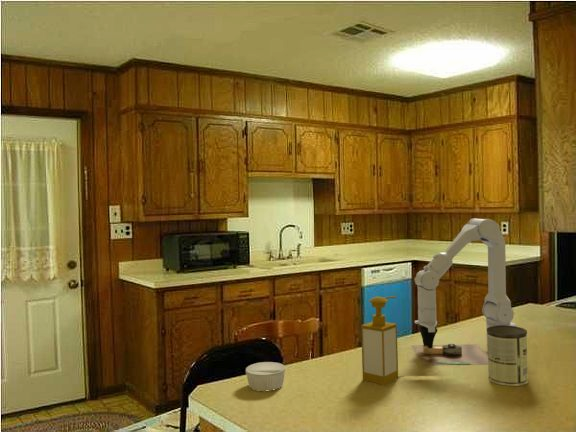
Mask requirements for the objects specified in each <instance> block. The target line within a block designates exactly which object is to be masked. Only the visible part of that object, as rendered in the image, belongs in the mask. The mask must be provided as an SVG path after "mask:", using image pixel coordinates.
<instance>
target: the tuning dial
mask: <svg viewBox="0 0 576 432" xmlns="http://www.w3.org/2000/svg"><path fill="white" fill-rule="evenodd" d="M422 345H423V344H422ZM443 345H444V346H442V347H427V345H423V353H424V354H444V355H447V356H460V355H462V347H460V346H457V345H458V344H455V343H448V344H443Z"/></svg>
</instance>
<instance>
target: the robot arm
mask: <svg viewBox="0 0 576 432" xmlns="http://www.w3.org/2000/svg"><path fill="white" fill-rule="evenodd" d="M500 229H501V228H500V224H498V222H496V221H495V220H493V219H490V218H476V217H474V218H470V220H469V221H468V222H467V223H465V224H464V225H463V227H462V229H461V231H460V232H459V233H458V234H457V235H456V236H455V238H453V240H452V242H451V243H450V244H449V246H448V247H447V248H446V249H445V250H444V251H443V252H438V253H437V254H436V253H435V254H434V255H433V256H432V259H431V260H430V261H429V262H428V264H427V265H424V266H423V269H422V270H419V271H418V272H416V275H415V277H414V283H415V285H416V286H417V318H418V319H417V320H414V324H416V325H420V326H417V329H418V330H419V333H420V336H421V338H422V343H423V344H422V345H427V347H432V346H433V345H434V340H435V337H436V335H437V333H438V328H437V324H438V320H437V293H436V291H437V290H436V288H437V287H438V286H439V283H440V279H441V278H442V277H443V275H445V273H446V272H447V271H448V270H449V269H450V268H451V267H452V266H453V259H454V258H455V257H456V256H457V255H458V254H459V253H460V252H461V251H462V250H463V249H464V248H465V247H466V246H467V245H468V244H469V243H471V242H475V241H477V242H478V241H480V242H482V243H483V244H484V245H486V246H487V275H488V276H487V282H488V283H487V285H488V286H487V287H488V288H487V289H488V290H487V291H488V293H487V294H486V296H484V303H483V305H482V308H481V311H482V314H483V316H484V317H485V322H486V323H485V324H486V326H485V327H486V329H487V328H489V327H492V326H515V327H518V326H517V324H516V323H515V322H512V321H513V319H514V314H515V312H514V310H513V308H512V301H511V300H510V298H509V297H508V295H507V286H506V285H507V281H506V279H507V277H506V275H507V273H506V267H507V266H506V240H505V239H506V238H505V237H504V235H503V234H502V231H501V230H500ZM486 347H487V348H488V340H487V339H486Z"/></svg>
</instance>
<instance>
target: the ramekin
mask: <svg viewBox="0 0 576 432" xmlns="http://www.w3.org/2000/svg"><path fill="white" fill-rule="evenodd" d="M285 372H286V366H285V365H284V364H282V363H280V362H273V361H263V362H262V361H261V362H256V363H253V364H252V363H251V364H250V365H248V366H247V367H245V374H246V378H247V384H248V387H249V388H250V389H251V388H252V389H251V390H253V389H254V390H253V391H255V390H260V391H266V390H273V389H277V388H279V389H280V387H281V388H282V387H283V385H284V383H285V382H284V380H285V374H286V373H285ZM277 390H278V389H277ZM260 391H259V392H260Z"/></svg>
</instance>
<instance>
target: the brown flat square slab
mask: <svg viewBox="0 0 576 432" xmlns="http://www.w3.org/2000/svg"><path fill="white" fill-rule="evenodd" d="M444 345H445V344H433V346H432V347H442V346H444ZM456 345H457V346H460V347H462V355H460V356H447V355H444V354H424V353H423V344H422V345H421V344H417V345H415V344H413V345H411V347H412V348H413V350H414V353H415V354H416V355H417V357H418V358H419V360H420V362H421V364H422V365H423V366H468V365H469V366H471V365H472V366H473V365H474V366H475V365H476V366H479V365H481V366H482V365H485V366H486V365H487V366H488V352H486V351H485V350H484V349H483V348H482V347H481V346H480V345H479V344H477V343H476V344H474V343H473V344H471V343H470V344H456Z"/></svg>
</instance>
